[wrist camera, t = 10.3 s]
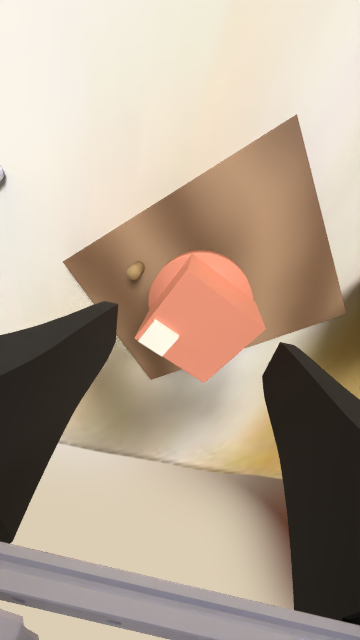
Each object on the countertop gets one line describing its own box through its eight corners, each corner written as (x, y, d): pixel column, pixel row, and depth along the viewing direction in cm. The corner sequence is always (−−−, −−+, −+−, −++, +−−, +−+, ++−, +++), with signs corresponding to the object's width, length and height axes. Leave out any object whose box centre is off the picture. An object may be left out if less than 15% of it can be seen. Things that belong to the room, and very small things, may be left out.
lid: (272, 292, 14) (295, 330, 10) (207, 354, 16) (206, 402, 13) (191, 226, 12) (182, 242, 9) (135, 305, 15) (110, 343, 11)
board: (153, 372, 22) (146, 392, 20) (70, 258, 17) (49, 268, 15) (339, 307, 17) (358, 325, 14) (290, 119, 12) (308, 104, 10)
